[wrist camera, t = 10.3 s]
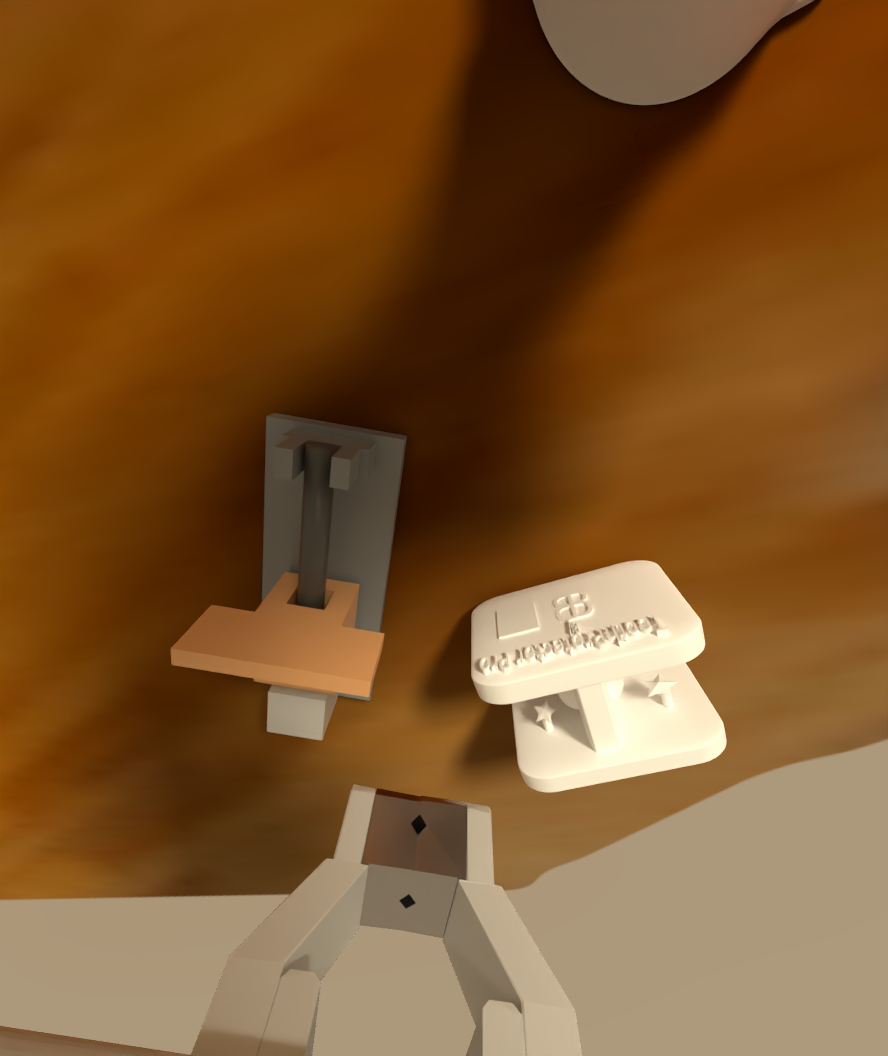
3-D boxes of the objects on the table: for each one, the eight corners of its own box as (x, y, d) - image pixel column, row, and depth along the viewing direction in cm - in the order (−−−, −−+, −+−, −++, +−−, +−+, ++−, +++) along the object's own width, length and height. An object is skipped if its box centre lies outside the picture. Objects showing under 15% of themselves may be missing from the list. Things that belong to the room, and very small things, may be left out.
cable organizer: (504, 690, 46) (514, 803, 35) (468, 593, 42) (467, 686, 31) (671, 650, 43) (738, 759, 32) (649, 544, 39) (715, 626, 29)
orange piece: (247, 565, 40) (170, 648, 29) (396, 590, 40) (371, 681, 30) (247, 628, 42) (175, 725, 32) (388, 651, 42) (361, 755, 32)
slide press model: (274, 412, 37) (230, 432, 30) (407, 435, 37) (393, 460, 30) (266, 671, 46) (231, 730, 39) (373, 689, 46) (356, 751, 40)
